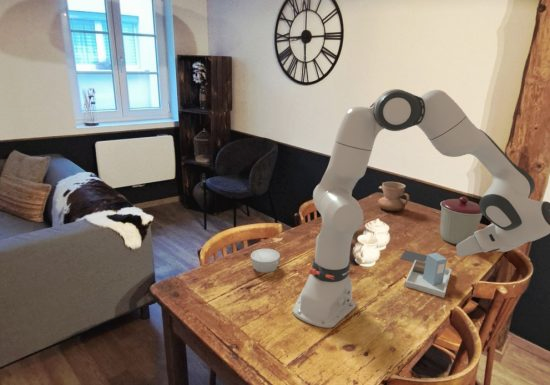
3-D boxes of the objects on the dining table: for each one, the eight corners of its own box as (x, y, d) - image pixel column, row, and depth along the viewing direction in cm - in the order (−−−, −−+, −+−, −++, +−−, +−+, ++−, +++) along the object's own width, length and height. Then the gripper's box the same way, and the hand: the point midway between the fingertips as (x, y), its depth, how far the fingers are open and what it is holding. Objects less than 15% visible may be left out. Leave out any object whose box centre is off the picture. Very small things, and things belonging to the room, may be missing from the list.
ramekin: (244, 266, 144) (244, 254, 142) (264, 257, 152) (265, 245, 150) (265, 278, 137) (265, 265, 135) (285, 267, 145) (285, 255, 143)
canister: (426, 233, 177) (433, 191, 170) (457, 230, 182) (465, 189, 175) (453, 251, 161) (462, 205, 154) (487, 246, 165) (497, 202, 159)
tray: (443, 299, 127) (445, 292, 126) (404, 287, 133) (405, 281, 132) (450, 275, 142) (451, 269, 141) (414, 265, 148) (415, 259, 147)
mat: (423, 266, 148) (423, 264, 148) (399, 260, 152) (400, 258, 152) (426, 256, 155) (427, 255, 155) (404, 251, 159) (405, 250, 159)
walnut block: (426, 275, 140) (427, 269, 139) (412, 271, 143) (413, 265, 142) (428, 269, 144) (429, 263, 144) (415, 265, 147) (416, 260, 146)
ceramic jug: (370, 207, 208) (373, 183, 203) (384, 201, 217) (387, 178, 213) (399, 217, 196) (403, 191, 191) (412, 210, 205) (416, 186, 200)
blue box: (442, 283, 135) (447, 259, 132) (433, 285, 134) (437, 261, 130) (432, 276, 140) (436, 252, 136) (422, 278, 138) (426, 254, 135)
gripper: (521, 220, 114) (487, 236, 126) (473, 231, 106) (441, 247, 118) (532, 239, 111) (496, 253, 123) (483, 252, 104) (450, 266, 116)
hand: (469, 250), depth 121 cm, fingers open, 8 cm apart
